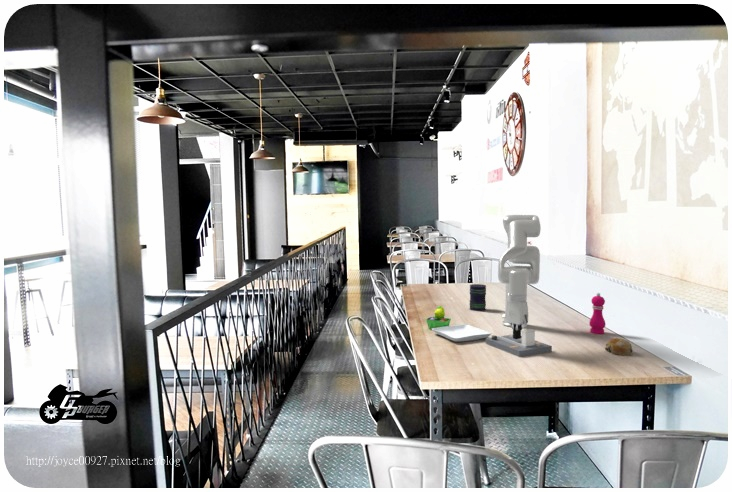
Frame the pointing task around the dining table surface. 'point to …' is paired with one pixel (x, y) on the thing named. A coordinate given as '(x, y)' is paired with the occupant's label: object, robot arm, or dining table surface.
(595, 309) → the pepper mill
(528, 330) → the block
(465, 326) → the salad plate
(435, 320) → the fruit basket
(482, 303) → the storage jar
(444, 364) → the dining table surface
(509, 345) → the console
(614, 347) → the bread roll
